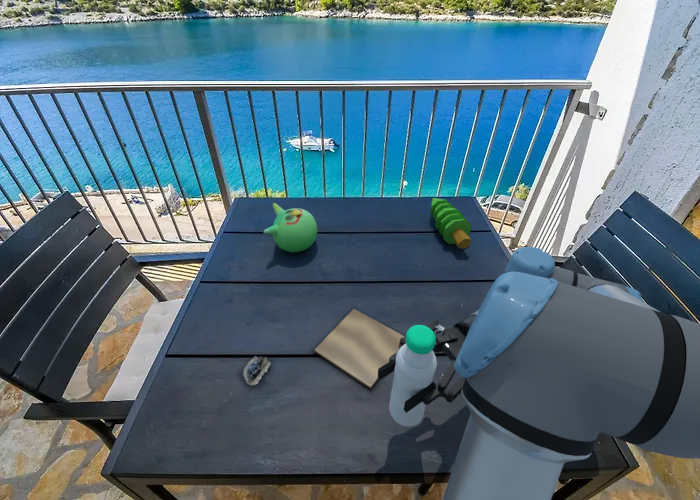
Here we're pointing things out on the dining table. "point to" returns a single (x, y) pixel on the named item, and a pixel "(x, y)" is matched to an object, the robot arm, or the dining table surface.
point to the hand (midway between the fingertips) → (392, 390)
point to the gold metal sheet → (360, 347)
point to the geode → (255, 369)
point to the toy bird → (293, 229)
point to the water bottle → (412, 374)
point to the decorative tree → (451, 223)
